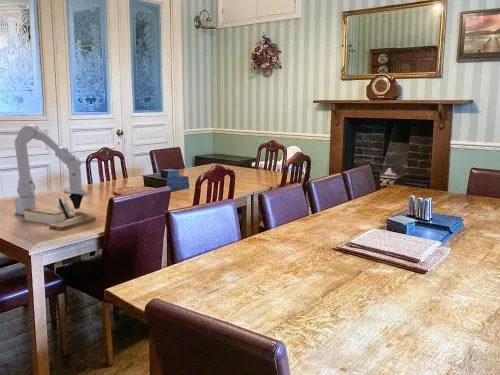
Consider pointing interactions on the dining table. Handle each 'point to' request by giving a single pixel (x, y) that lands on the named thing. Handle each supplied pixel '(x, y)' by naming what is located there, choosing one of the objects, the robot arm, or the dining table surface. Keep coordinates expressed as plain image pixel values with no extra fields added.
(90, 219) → the door leaf
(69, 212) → the hinge
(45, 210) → the cabinet
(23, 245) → the dining table surface
